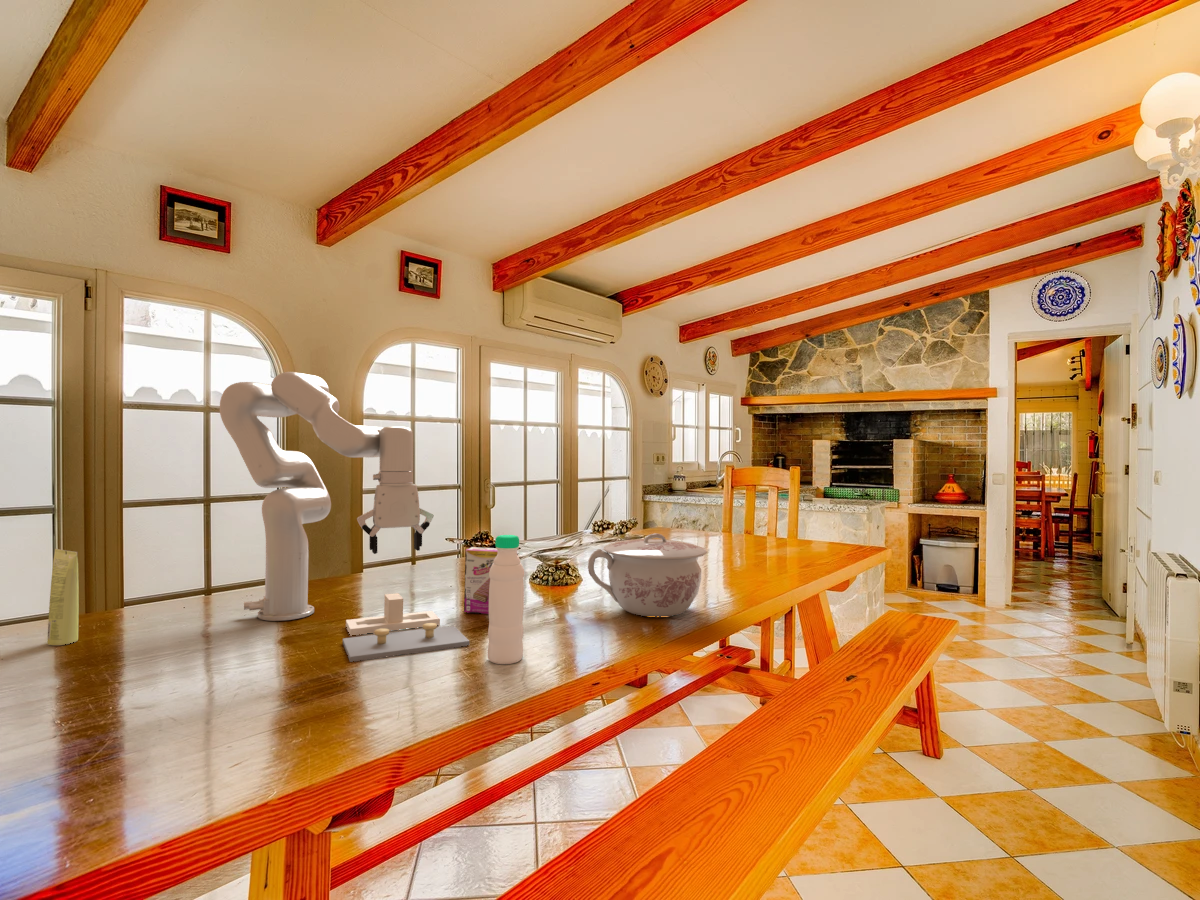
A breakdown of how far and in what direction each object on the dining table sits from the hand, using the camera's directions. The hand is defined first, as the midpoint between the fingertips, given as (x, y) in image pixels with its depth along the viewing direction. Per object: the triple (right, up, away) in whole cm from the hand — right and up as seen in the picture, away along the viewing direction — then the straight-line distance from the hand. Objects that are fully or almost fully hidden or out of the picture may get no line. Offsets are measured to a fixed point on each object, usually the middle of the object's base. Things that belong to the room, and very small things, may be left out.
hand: (396, 551), depth 147 cm
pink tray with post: (-1, -18, 0) cm, 18 cm away
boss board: (+6, -18, -13) cm, 23 cm away
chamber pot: (+62, -19, +18) cm, 68 cm away
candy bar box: (+19, -18, +14) cm, 30 cm away
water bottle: (+29, -19, -21) cm, 40 cm away
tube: (-65, -17, -16) cm, 69 cm away
